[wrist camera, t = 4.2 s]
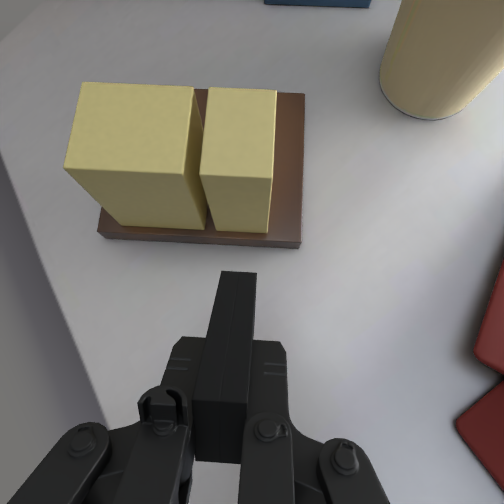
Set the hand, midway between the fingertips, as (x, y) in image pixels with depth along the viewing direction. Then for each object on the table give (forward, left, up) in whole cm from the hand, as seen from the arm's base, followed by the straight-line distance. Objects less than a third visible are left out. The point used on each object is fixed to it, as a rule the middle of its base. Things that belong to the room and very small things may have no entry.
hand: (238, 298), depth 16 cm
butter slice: (-1, +8, -8) cm, 11 cm away
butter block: (-6, +8, -8) cm, 13 cm away
